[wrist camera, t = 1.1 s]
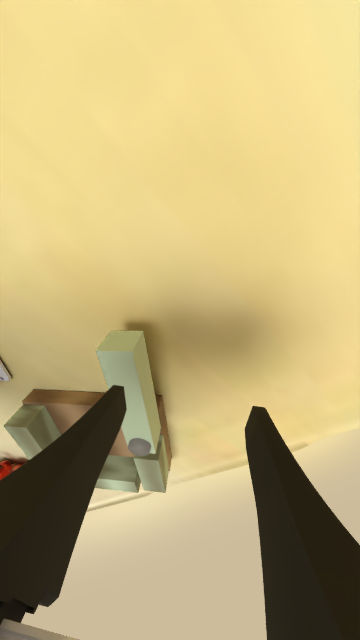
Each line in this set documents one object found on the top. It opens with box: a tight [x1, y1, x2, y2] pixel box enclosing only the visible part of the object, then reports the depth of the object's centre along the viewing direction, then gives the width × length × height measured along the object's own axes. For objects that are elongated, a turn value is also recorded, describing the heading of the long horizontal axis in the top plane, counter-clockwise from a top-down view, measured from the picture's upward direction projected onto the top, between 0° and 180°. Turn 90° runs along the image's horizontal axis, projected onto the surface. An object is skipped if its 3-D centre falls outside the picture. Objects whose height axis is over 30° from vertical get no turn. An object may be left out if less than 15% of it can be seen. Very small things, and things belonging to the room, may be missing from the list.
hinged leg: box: [96, 331, 161, 456], centre depth 20 cm, size 14×3×4 cm, turn 4°
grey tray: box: [4, 389, 172, 493], centre depth 28 cm, size 18×14×5 cm
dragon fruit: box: [0, 460, 23, 480], centre depth 37 cm, size 8×8×12 cm
